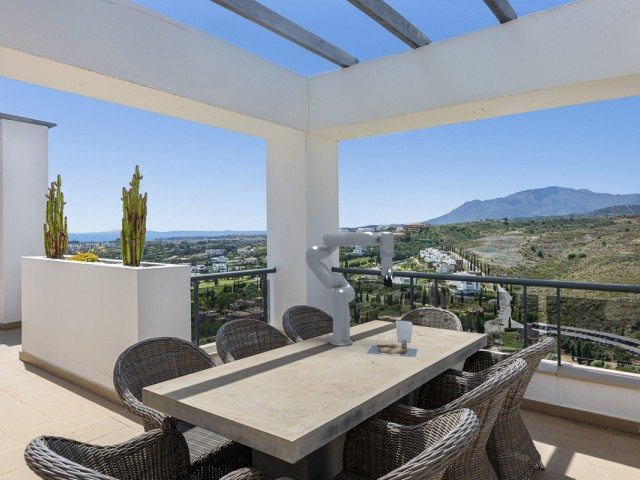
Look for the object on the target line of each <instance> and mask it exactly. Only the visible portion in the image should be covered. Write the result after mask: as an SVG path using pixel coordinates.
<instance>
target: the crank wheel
mask: <svg viewBox="0 0 640 480" xmlns="http://www.w3.org/2000/svg"><path fill="white" fill-rule="evenodd" d="M407 343H408V342H407V340H402V342H401V344H394V343H391V344H390V343H388V344H376V346H377V347H379V351H380V352H382V353H387V354H402V353H406V352H407V348H408V344H407Z"/></svg>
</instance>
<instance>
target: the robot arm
mask: <svg viewBox="0 0 640 480" xmlns="http://www.w3.org/2000/svg"><path fill="white" fill-rule="evenodd" d="M394 244H395V243H394V232H392V231H383V232H382V231H381V232H376V231H374V232H373V231H328V232H325V233H324V234H323V237H322V244H313V245H311V246H310V247H309V248H307V250H306V252H305V263H306V264H307V266H308V268H309V269H310V271H312V273H313V274H314V275H315V277H316V278H317V280H319V282H320V283H321V284H322V285H323V287H324V288H325V289H327V290H332V293H331V302H332V303H331V305H332V334H331V335H329V334H327V335H325V338H326V340H330V341H329V343H330V344H331V345H333V346H339V347H340V346H343V347H345V346H351V345H352V344H354V343H353V340H351V320H350V319H351V317H350V316H351V313H350V312H351V311H350V306H349V305H350V303H351V302H352V301H354V299H355V298H356V291H355V289H354V288H353V286H352V285H351V284H350V283H349V281H347V279H346V278H345V277H344V275H343V274H341V273H339V272H336V271H331V269H330V267H328V265H326V263H324V262H323V261H322V260H325V259H327V258H329V257H330V256H331V255H332V254H333V253H334V252H335V251H336V250H338V248H339V247H350V248H351V247H353V246H354V247H360V246H361V247H376V246H379V258H381V268H380V271H381V273H380V274H381V276H382V277H383V286H384V287H386V288H393V277H392V276H393V258H395V248H394V247H395V245H394Z"/></svg>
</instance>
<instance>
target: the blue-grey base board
mask: <svg viewBox="0 0 640 480" xmlns="http://www.w3.org/2000/svg"><path fill="white" fill-rule="evenodd" d="M418 351H419V348H412V347H411V348H410V347H409V348H408V347H407V352H406V353H402V354H387V353H382V352H380V351H379V347H377V345H372V346H371V347H370V348H369V349H368V351H367V352H366V354H367V355H370V354H371V355H385V356H394V357H395V356H396V357H397V356H398V357H410V358H416V356H417V353H418Z"/></svg>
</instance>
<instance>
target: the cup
mask: <svg viewBox="0 0 640 480" xmlns="http://www.w3.org/2000/svg"><path fill="white" fill-rule="evenodd" d="M395 325H396V326H395V330H396V337H397V342H398V343H402V340H407V343H411V342H412V341H411V340H412V335H413V333H412V332H413V322H412V321H408V320H400V321H399V320H398V321H396V323H395Z"/></svg>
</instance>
